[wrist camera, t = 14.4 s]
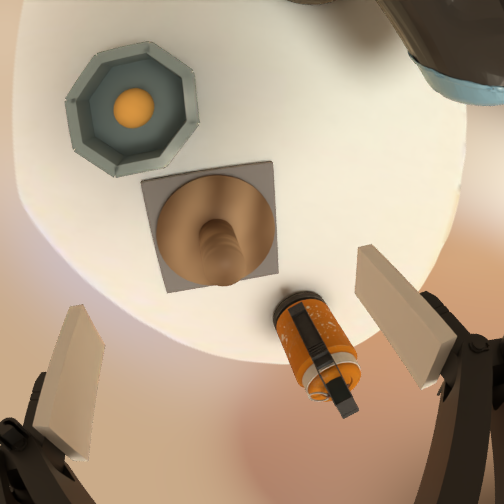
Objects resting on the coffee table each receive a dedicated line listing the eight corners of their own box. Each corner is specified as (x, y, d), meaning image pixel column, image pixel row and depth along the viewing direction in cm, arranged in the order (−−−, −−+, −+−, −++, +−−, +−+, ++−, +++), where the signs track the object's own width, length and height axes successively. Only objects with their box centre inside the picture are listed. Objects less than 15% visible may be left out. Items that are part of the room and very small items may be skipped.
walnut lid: (269, 166, 38) (293, 188, 30) (275, 270, 45) (295, 309, 37) (145, 186, 36) (136, 213, 28) (170, 289, 43) (170, 333, 35)
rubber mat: (271, 161, 38) (272, 162, 38) (277, 270, 46) (278, 273, 45) (141, 181, 36) (140, 183, 35) (167, 290, 44) (167, 293, 43)
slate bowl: (189, 44, 29) (190, 34, 24) (200, 151, 36) (204, 161, 31) (78, 68, 27) (60, 64, 22) (94, 171, 34) (80, 186, 29)
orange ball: (153, 85, 30) (149, 83, 26) (158, 122, 32) (155, 125, 28) (115, 93, 29) (106, 93, 26) (120, 129, 32) (112, 134, 28)
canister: (284, 340, 54) (324, 436, 36) (257, 298, 48) (299, 406, 31) (330, 316, 53) (384, 405, 36) (310, 270, 47) (373, 367, 30)
